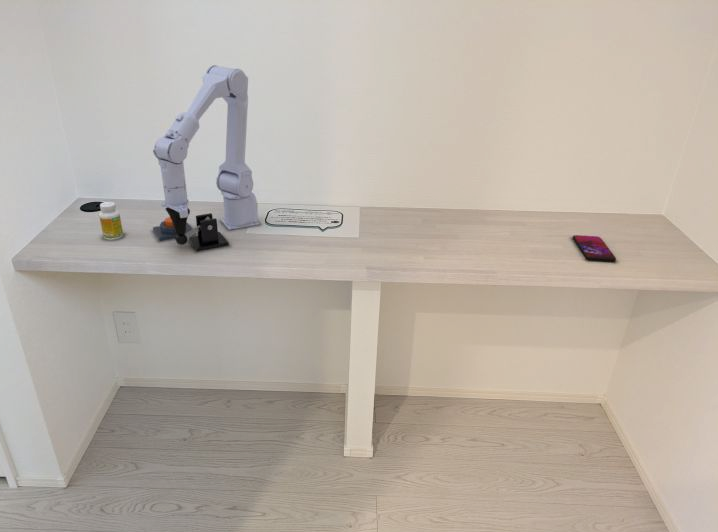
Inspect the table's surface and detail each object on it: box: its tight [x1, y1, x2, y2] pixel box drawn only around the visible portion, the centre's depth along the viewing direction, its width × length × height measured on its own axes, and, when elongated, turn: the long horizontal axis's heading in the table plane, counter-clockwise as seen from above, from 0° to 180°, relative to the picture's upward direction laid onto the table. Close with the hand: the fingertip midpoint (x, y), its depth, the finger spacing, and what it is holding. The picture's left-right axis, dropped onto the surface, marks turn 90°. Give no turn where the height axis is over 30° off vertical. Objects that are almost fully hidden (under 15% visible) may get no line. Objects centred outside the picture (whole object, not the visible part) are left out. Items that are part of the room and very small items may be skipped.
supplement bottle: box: [98, 201, 124, 241], centre depth 161 cm, size 5×5×10 cm
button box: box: [152, 220, 193, 242], centre depth 165 cm, size 10×8×3 cm
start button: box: [164, 216, 174, 227], centre depth 164 cm, size 4×4×2 cm
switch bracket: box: [188, 212, 230, 253], centre depth 158 cm, size 9×8×8 cm
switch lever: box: [175, 216, 210, 246], centre depth 156 cm, size 11×3×3 cm, turn 116°
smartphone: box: [572, 234, 617, 262], centre depth 159 cm, size 8×1×15 cm
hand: (180, 233), depth 155 cm, fingers closed
